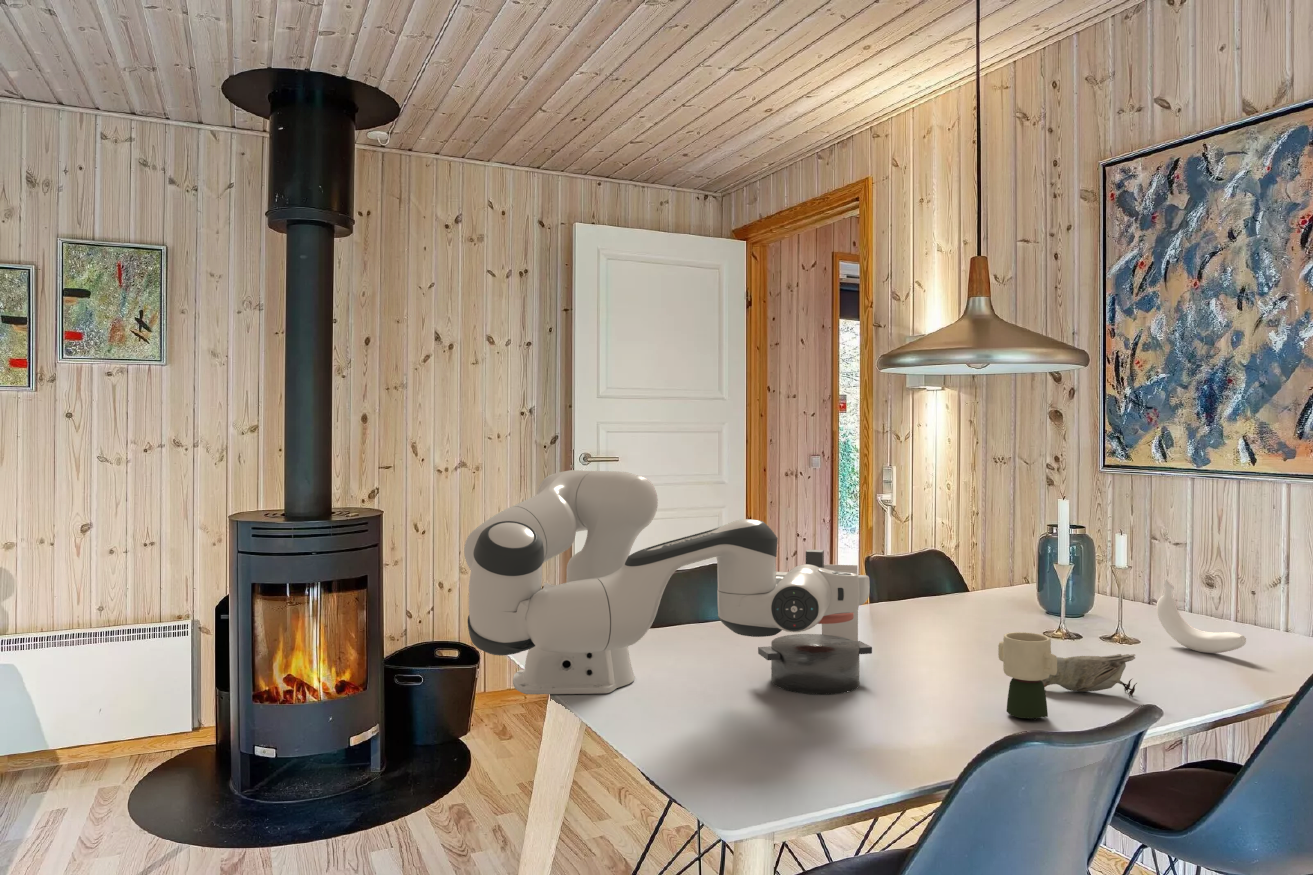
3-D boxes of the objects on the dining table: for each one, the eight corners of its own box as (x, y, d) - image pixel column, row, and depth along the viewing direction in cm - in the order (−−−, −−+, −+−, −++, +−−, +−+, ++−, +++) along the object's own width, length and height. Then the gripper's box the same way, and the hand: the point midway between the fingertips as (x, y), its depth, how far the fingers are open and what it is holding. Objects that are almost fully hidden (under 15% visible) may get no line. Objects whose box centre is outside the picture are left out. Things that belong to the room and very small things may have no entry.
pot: (779, 698, 153) (779, 658, 153) (748, 673, 169) (748, 637, 169) (886, 690, 158) (886, 650, 158) (846, 667, 174) (846, 631, 173)
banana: (1242, 664, 175) (1242, 590, 175) (1149, 643, 192) (1150, 576, 192) (1256, 661, 177) (1256, 588, 177) (1163, 641, 194) (1163, 574, 194)
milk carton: (858, 663, 177) (857, 568, 176) (821, 661, 178) (821, 567, 178) (857, 654, 184) (857, 562, 183) (822, 652, 185) (822, 561, 185)
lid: (850, 625, 155) (850, 557, 155) (771, 621, 159) (771, 554, 158) (856, 610, 168) (856, 547, 168) (782, 606, 172) (782, 544, 172)
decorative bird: (1033, 686, 161) (1033, 645, 161) (1130, 692, 157) (1130, 650, 157) (1038, 694, 156) (1039, 652, 156) (1139, 701, 152) (1139, 658, 152)
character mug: (1071, 723, 140) (1071, 641, 140) (1041, 730, 136) (1041, 646, 136) (1013, 704, 149) (1013, 627, 149) (984, 711, 146) (984, 632, 146)
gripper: (746, 606, 154) (759, 592, 167) (866, 613, 148) (871, 598, 161) (746, 570, 154) (759, 559, 167) (866, 575, 148) (871, 563, 161)
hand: (815, 578), depth 164 cm, fingers closed on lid, 3 cm apart
